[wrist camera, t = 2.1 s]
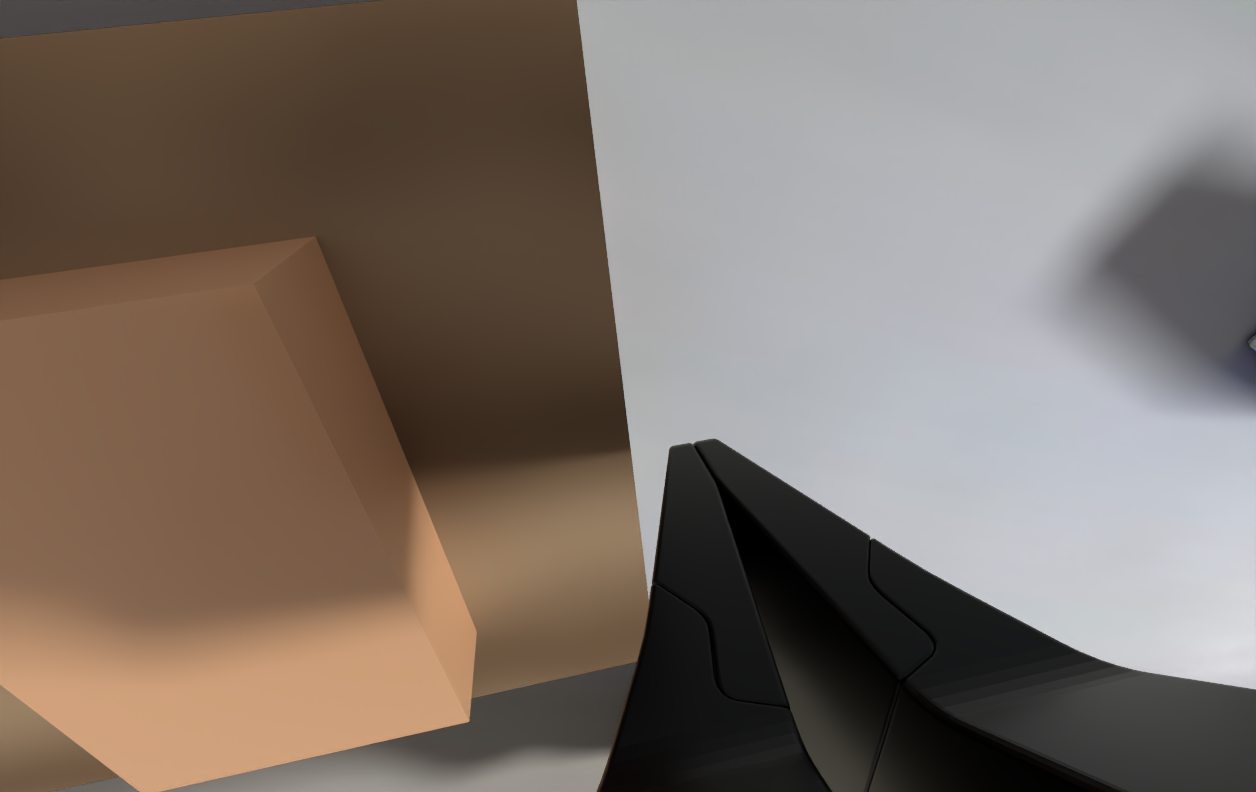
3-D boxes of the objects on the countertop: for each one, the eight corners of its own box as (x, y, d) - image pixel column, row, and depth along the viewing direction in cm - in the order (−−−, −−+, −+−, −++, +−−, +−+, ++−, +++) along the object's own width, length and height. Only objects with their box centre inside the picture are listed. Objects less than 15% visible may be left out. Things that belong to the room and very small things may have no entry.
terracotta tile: (476, 631, 12) (469, 722, 10) (199, 690, 12) (143, 795, 10) (315, 235, 7) (253, 284, 6) (-169, 303, 7) (-397, 378, 5)
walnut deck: (629, 543, 17) (655, 657, 14) (-126, 694, 15) (-313, 872, 12) (556, 14, 10) (574, -20, 6) (-938, 171, 8) (-2062, 245, 4)
